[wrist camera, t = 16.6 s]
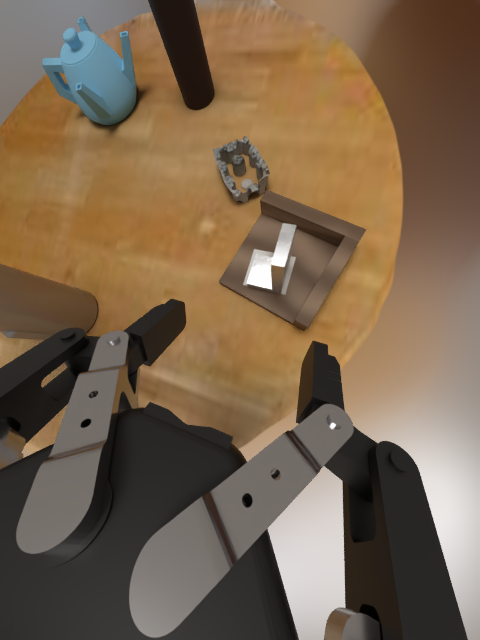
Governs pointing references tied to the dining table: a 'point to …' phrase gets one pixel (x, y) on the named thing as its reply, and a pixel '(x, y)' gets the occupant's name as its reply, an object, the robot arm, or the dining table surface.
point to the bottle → (185, 49)
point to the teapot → (94, 75)
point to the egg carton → (241, 167)
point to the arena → (294, 257)
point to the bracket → (273, 263)
